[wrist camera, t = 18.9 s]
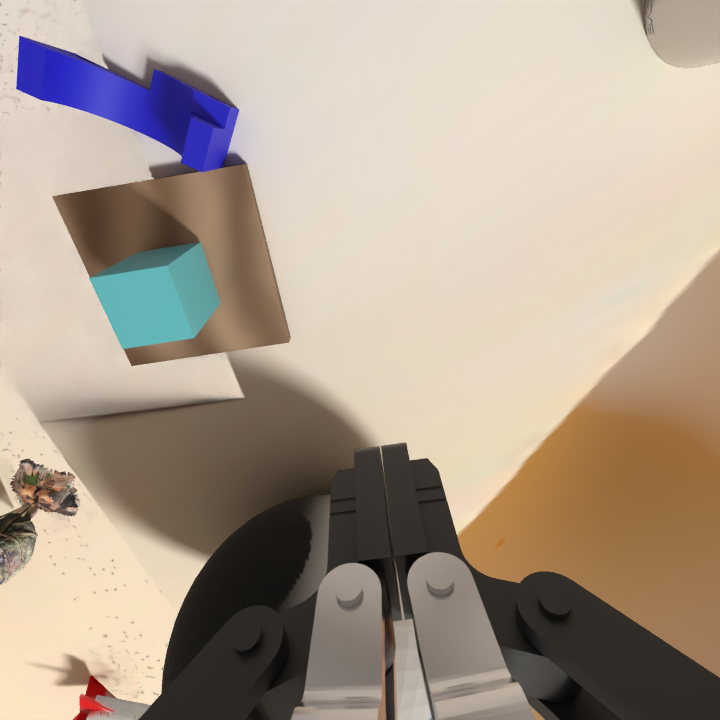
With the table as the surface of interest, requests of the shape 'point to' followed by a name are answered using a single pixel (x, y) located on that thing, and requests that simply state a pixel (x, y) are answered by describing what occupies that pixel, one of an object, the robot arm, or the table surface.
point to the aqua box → (158, 295)
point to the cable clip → (132, 102)
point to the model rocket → (107, 705)
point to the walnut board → (185, 226)
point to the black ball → (278, 590)
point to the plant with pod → (32, 512)
